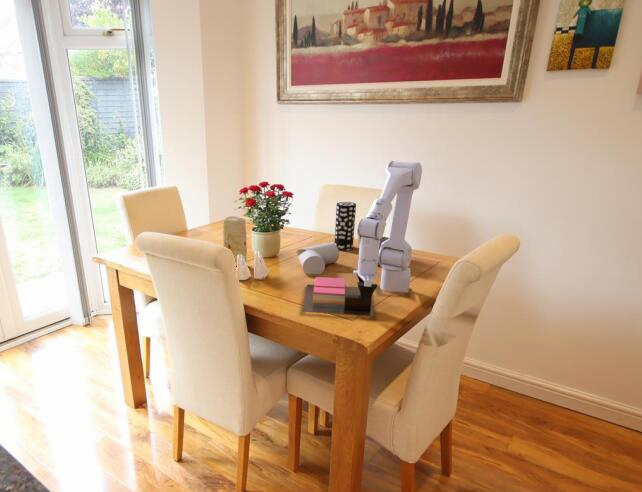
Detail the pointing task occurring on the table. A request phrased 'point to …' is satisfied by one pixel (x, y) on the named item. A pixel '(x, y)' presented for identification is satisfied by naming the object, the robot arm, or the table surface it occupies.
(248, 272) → the shaker set
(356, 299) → the grey and black bar
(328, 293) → the cake slice
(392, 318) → the table surface
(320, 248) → the bent grey cylinder
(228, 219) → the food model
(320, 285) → the cake
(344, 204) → the spotted tube
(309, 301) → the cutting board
